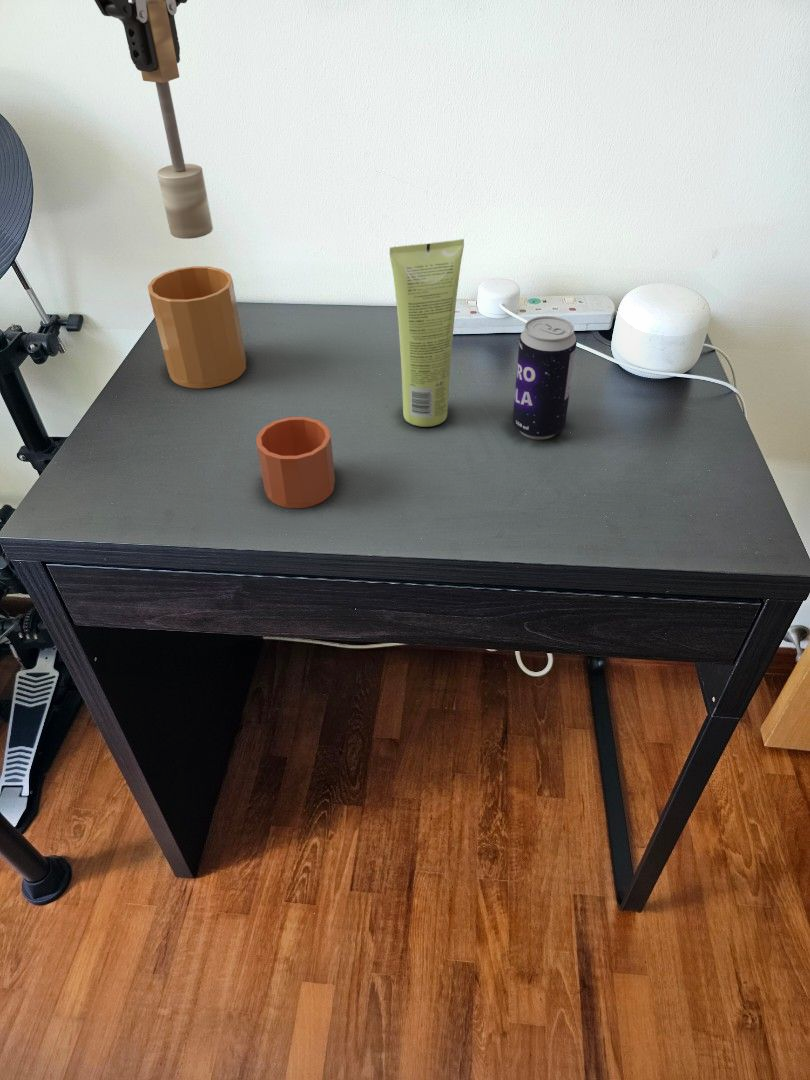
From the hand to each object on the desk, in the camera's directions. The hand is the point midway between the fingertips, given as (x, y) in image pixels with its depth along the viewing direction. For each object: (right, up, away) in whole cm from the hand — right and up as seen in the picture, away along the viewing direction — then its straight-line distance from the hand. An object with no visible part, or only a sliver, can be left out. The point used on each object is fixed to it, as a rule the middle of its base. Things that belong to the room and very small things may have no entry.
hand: (158, 65), depth 72 cm
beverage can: (+37, -31, +14) cm, 51 cm away
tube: (+25, -30, +16) cm, 42 cm away
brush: (0, -11, +10) cm, 15 cm away
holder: (+12, -38, +7) cm, 41 cm away
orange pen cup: (-2, -22, +25) cm, 34 cm away
